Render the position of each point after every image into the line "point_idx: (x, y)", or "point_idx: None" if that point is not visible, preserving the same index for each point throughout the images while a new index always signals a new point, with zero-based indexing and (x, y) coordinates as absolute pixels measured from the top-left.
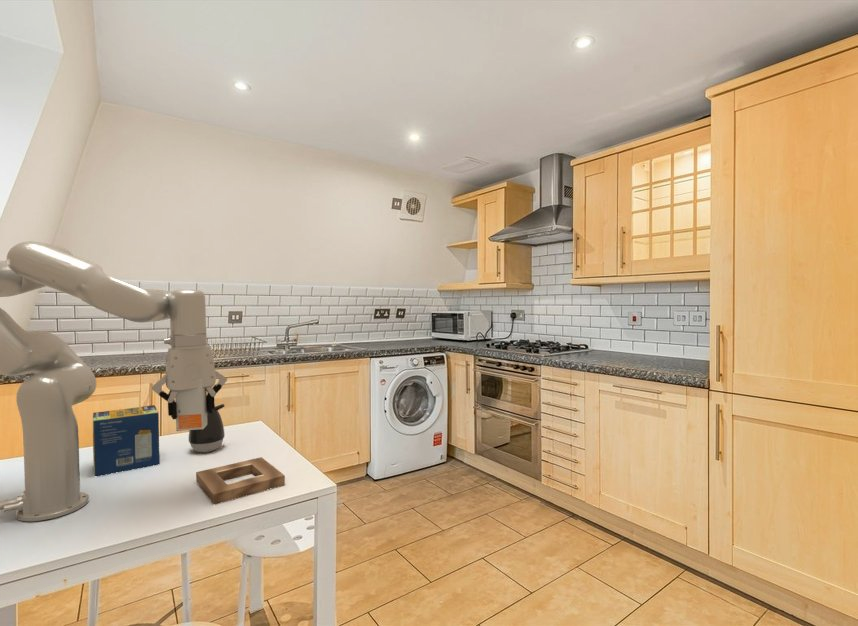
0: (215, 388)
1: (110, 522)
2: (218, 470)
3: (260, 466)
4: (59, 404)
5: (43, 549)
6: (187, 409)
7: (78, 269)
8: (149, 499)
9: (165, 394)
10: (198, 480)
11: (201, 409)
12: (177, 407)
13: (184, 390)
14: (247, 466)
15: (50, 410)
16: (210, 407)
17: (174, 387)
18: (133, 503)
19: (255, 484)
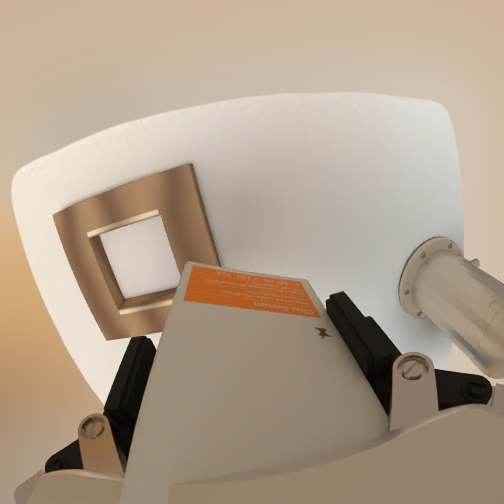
0: (78, 465)
1: (371, 177)
2: None
3: (99, 290)
4: None
5: (431, 135)
6: (275, 333)
7: None
8: (316, 252)
9: (459, 397)
10: None
11: (177, 318)
12: (342, 351)
13: (347, 449)
14: (126, 307)
15: None
16: (132, 356)
17: (476, 433)
18: (342, 246)
19: (103, 193)
